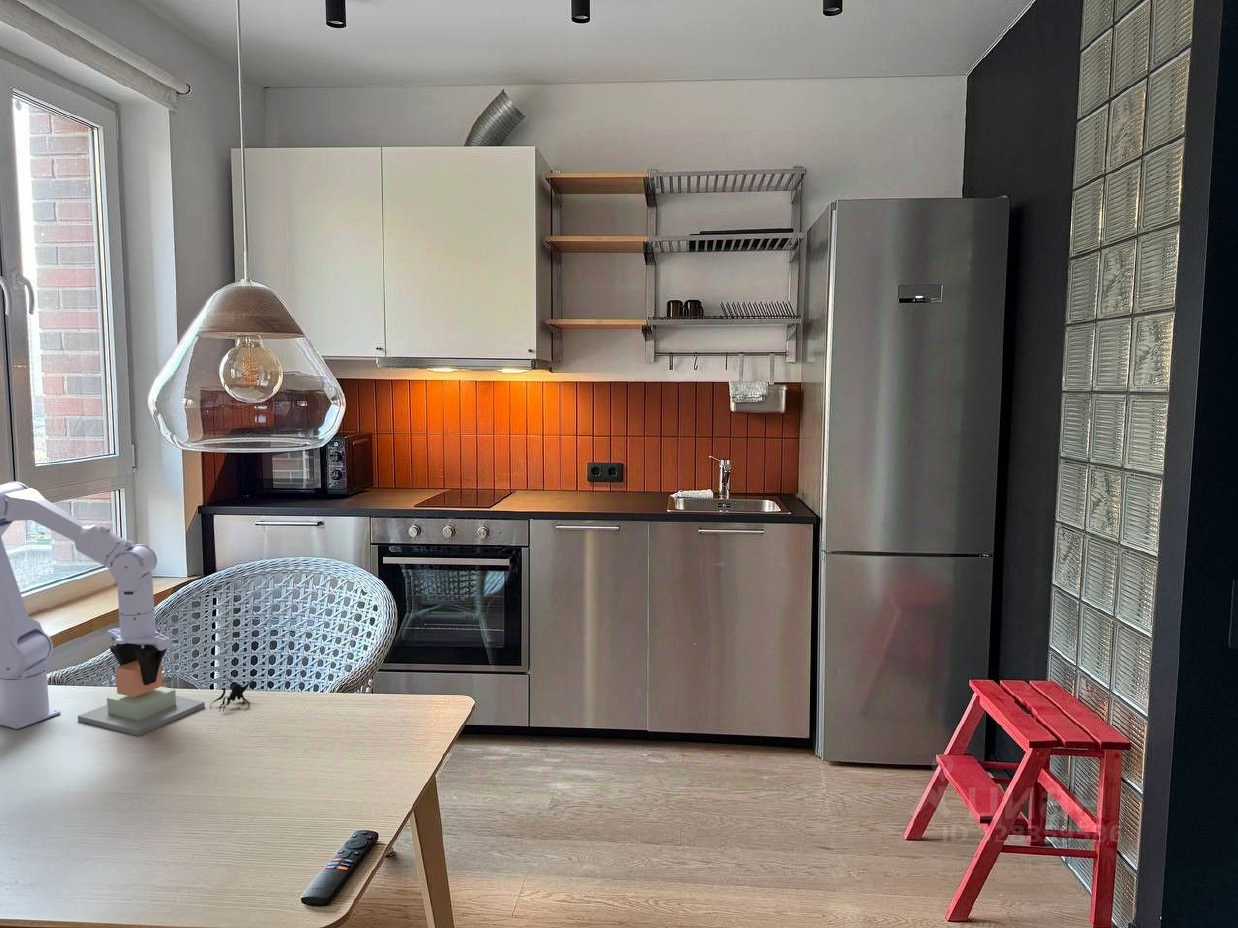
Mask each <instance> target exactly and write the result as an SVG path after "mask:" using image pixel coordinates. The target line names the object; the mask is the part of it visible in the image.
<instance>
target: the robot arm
mask: <svg viewBox="0 0 1238 928" xmlns="http://www.w3.org/2000/svg"><path fill="white" fill-rule="evenodd" d="M16 521H18V522H19V521H33V522H34V523H36V524H38V525H41V526H43V527H45V528H46V529H49V530H51V531H53V532H55V533H56V534H59V535H61V536H63V537H65V538H67V539H69V540H72V541H73V542H74V546H75V550H76V551H77V552H78V553H81V554H82V555H84V556H86V557H87V558H89V559H91V560H93V561H94V562H97V563H98V564H100V565H101V566H104V567H105V568H107V569H109V573H110V575H111V576H112V578H114V580H115V581H116V583H117V586H116V587H117V600H118V601H117V603H118V604H117V605H118V618H119V627H115V628H111V629H109V630H106V636H107V637H106V638H107V639H106V640H107V641H109V642H114V641H115V645H111V646H109V651H110V652H111V654H113V656H114V657H115V659H116V660H117V662H118V664H119V666H122V665H125V664H128V663H131V662H133V661H136V660H138V662H139V665H140V669H141V675H142V679H143V683H144V685H149V684H152V683H154V682H156V679H157V674H158V670H159V666H160V663H162V660H163V658H164V656H165V654H166V652H167V650H168V649H170V648H172V647H171V637H168V636H165V635H164V634H162V633H160V632H158V631H157V630H156V614H155V600H154V598H155V597H154V596H155V595H154V582H153V573H152V572H153V571H154V570H155V568H156V567H157V563H158V558H157V555H156V553H155V552H154V550H153V549H151V547H149V546H148V545H147V544H140V543H139V544H135V542H134V541H132V540H130V539H128V540H127V539H124V538H122V537H121V536H119V535H117V534H116V533H114V532H112V531H111V530H112V528H111V527H110V526H108V525H106V524H104V525H100V524H91V525H87V524H85V523H83V522H82V521H81V520H79V519H77V518H76V517H74V516H73V515H71V514H70V513H68V512H66V511H65V510H63V509H62V508H60V507H59V506H57V505H55V504H54V503H52V502H51V501H49V500H48V499H46V498H44V496H43V495H42V494H41V493H40V492H39V491H38V490H36V489H34V488H29V486H27V485H26V484H24V483H23V482H19V481H9V482H6V483H4V484H0V726H4V727H8V728H11V729H14V730H15V729H16V730H18V729H19V730H20V729H22V728H25V727H27V726H30V725H33V724H35V723H38V722H41V721H43V720H47V719H49V718H51V717H54V716H56V715H60V714H61V713H62V712H61V710H59V709H55V708H52V707H51V708H50V701H49V688H48V687H49V686H48V674H47V672H48V671H47V665H48V663H47V659H48V658H49V657H50V656H51V654H52V653H53V647H54V644H53V641H52V639H51V637H50V635H48V633H46V632H45V631H44V629H43V627H42V626H41V623H40V621H38V620H36V619H34V618H32V617H30V616H29V613H28V610H27V607H26V604H25V602H24V599H23V596H22V593H21V591H20V588H19V585H18V582H17V579H16V576H15V573H14V571H13V568H12V565H11V562H10V559H9V556H8V553H7V551H6V548H5V544H4V542H3V539H2V537H3V536H4V534H5V532H6V531H7V530H8V528H9V527H10V526H11V525H12V524H13V522H16Z"/></svg>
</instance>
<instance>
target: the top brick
mask: <svg viewBox="0 0 1238 928" xmlns="http://www.w3.org/2000/svg"><path fill="white" fill-rule="evenodd" d="M115 677H116V678H115V679H116V681H115V682H116V694H122V695H126V696H131V697H136V696H138V695H141V694H143V693H146V692H148V691H151V690H154V689H156V688H159V687H164V685H163V684H164V682H163V666H162V662H161V663H160V666H159V670H158V674H157V679H156V682H154V683H152V684H149V685H144V683H143V679H142V675H141V669H140V665H139V662H138V660H136V661H133V662H131V663H128V664H125V665H122V666H120V665H119V666H116V667H115Z"/></svg>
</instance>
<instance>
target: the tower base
mask: <svg viewBox="0 0 1238 928" xmlns="http://www.w3.org/2000/svg"><path fill="white" fill-rule="evenodd" d="M203 708H206V706H205V701H201V700H196V699H191V698H187V697H182V696H177V695H176V689H175V688H169V687H165V686H161V687H159V688H156V689H154V690H151V691H148V692H146V693H143V694H141V695H138V696H136V697H131V696H126V695H122V694H117V693H116V694H114V695H111V696H108V697H107V698H106V705H102V706H100V707H98V708H95V709H91V710H90V711H87V712H85V713H81V714H79V715H77V721H78V722H79V723H84V724H89V725H92V726H97V727H101V728H105V729H108V730H113V731H116V732H119V733H120V732H121V733H124V734H129V735H132V736H137V737H139V736H141V735H144V734H148V733H149V732H151V731H153V730H155V729H157V728H160V727H162V726H165V725H166V724H170V723H171V722H173V721H177V720H178V719H181V718H183V717H186V716H187V715H190V714H193V713H194V712H196V711H199V710H201V709H202V710H203Z"/></svg>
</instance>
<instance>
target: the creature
mask: <svg viewBox="0 0 1238 928" xmlns="http://www.w3.org/2000/svg"><path fill="white" fill-rule="evenodd" d="M226 679H227V681H228V682H230V683H231V684H232V685H233V687H230V686H229V685H227V687H228V689H230V690H231V692H229V696H227V695H226V688H225V687H222V688H221V690H222V694H221V695H220V696H219V697H218V698H217V699H214V700H213V701H212V702H211V703H210V704H209V709H210V710H212V707H211V706H212V704H214V703H215V702H218V701H220V700H222V703H221V704H220V706H219V707H216V708H214V710H215V709H219V711H218V712H220V711H221V709H222V708H223V709H222V712H224V711H225V709H226V706H229V705H230V703H231V701H232V702H235V700H236V699H237V700H238V701H240V700H241V699H242V705H245V703H247V704H248V705H247V707H246V709H244V710H243V711H244V712H245V711H247V710H248V709H249V708H250V705H251V704H250V702H249V700H248V699H246V698H245V697H244V693H245V691H246V690H247V689H248V687H249V685H250V684H251V683H252V682H253V681H255V679H256V677H255V678H253V679H251V680H250V681H249V682H248V683H247V684H245V685H244V686H242V685H241V684H239V683H235V682H233V681H232V680H231V679H229V677H228V676H226ZM226 699H227V701H226ZM225 701H226V702H225ZM222 706H223V707H222ZM236 708H237V709H239V710H240V711H241V710H242V709H241V708H240V707H239V706H236Z"/></svg>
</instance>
